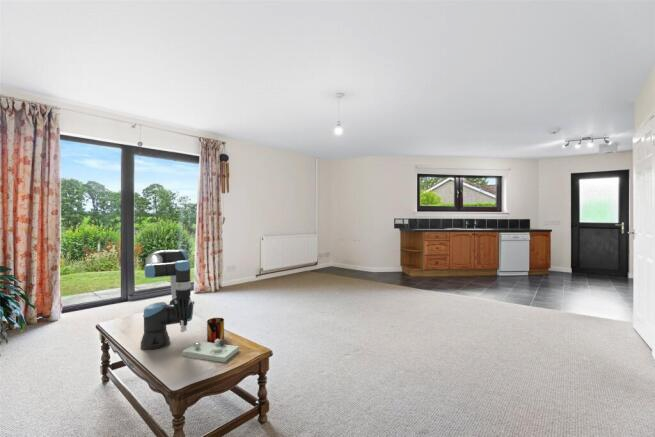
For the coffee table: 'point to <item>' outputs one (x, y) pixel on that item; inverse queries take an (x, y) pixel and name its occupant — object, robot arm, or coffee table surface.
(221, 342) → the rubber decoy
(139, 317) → the coffee table surface
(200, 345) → the steel ball
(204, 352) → the board
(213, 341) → the mug
